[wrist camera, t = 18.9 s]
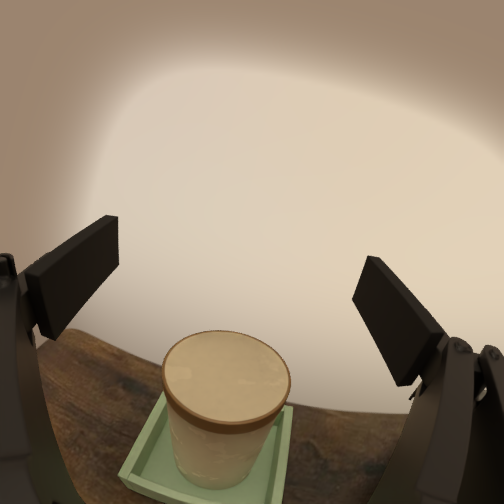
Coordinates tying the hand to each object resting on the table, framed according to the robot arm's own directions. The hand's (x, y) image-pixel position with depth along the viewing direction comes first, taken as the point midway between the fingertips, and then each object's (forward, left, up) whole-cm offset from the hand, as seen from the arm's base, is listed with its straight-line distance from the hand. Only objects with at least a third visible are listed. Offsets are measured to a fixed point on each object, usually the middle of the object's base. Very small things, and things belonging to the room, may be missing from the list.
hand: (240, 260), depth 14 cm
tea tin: (+1, -3, -15) cm, 16 cm away
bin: (+1, -3, -16) cm, 16 cm away
